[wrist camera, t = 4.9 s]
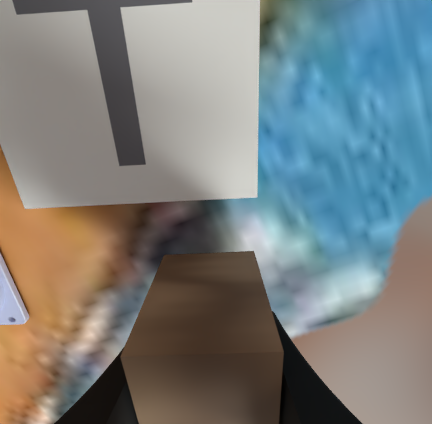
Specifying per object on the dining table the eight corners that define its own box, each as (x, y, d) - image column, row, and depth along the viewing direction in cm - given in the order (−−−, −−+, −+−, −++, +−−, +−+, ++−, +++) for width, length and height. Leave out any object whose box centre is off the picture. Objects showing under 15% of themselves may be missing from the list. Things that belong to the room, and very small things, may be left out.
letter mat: (31, 206, 14) (24, 209, 14) (-90, -122, 9) (-107, -136, 9) (255, 194, 14) (257, 197, 13) (259, -151, 9) (262, -168, 8)
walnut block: (174, 323, 14) (146, 449, 9) (164, 254, 13) (120, 356, 7) (253, 320, 14) (277, 447, 8) (253, 251, 12) (283, 351, 7)
